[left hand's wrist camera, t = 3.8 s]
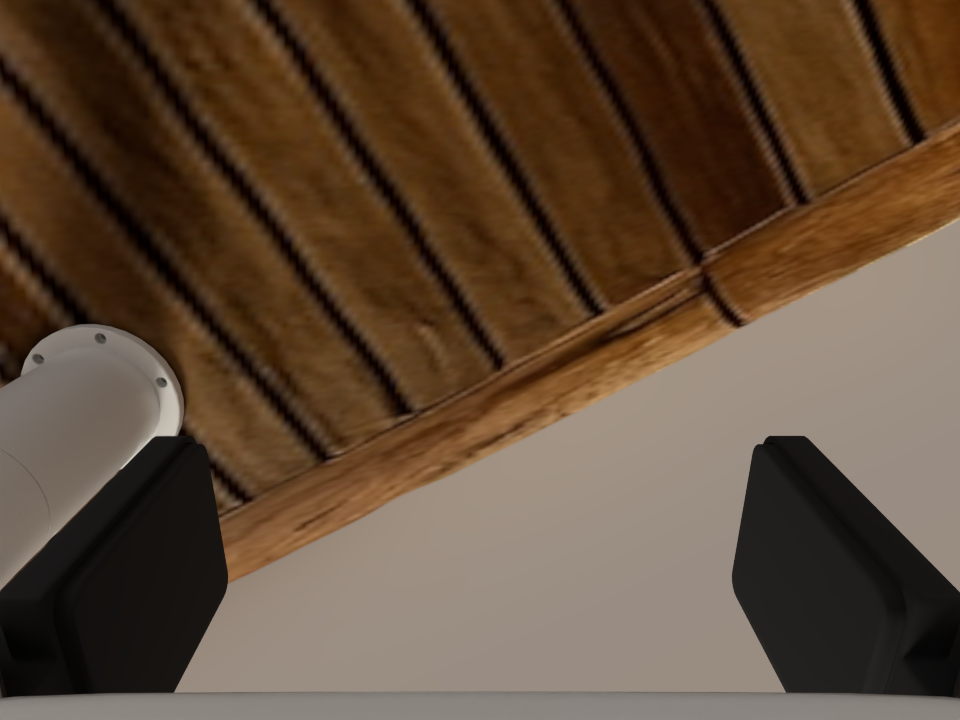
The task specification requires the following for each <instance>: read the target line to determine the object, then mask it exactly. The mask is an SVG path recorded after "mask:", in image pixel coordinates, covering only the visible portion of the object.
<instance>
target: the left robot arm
mask: <svg viewBox="0 0 960 720" xmlns="http://www.w3.org/2000/svg"><path fill="white" fill-rule="evenodd" d="M183 416H184V399H183V395H182V391H181V387H180V384H179V382H178V380H177V378H176V376H175V374H174V372H173V370H172V369H171V368H170V366H169V365H168V363H167V362H166V361H165V359H164V358H163V357H162V356H161V355H160V354H159V353H158V352H157V351H156V350H155V349H154V348H152V347H151V346H150V345H148V344H147V343H146V342H144V341H143V340H141V339H140V338H138V337H136V336H134V335H132V334H130V333H128V332H126V331H123V330H120V329H117V328H114V327H111V326H105V325H98V324H80V325H75V326H71V327H66V328H64V329H61V330H59V331H57V332H55V333H53V334H51V335H49V336H48V337H46V338H44V339H43V340H41V341H40V342H39V343H38V344H37V345H36V346H35V347H34V348H33V349H32V350H31V352H30V353H29V355H28V357H27V358H26V360H25V362H24V366H23V369H22V372H21V377H19V378H17V379H16V380H14V381H12V382H11V383H9V384H7V385H5V386H4V387H2V388H0V590H1V589H2V588H3V587H4V586H5V585H6V584H7V583H8V581H9V580H10V579H11V578H12V577H13V576H14V575H15V574H16V573H17V572H18V571H19V570H20V569H21V568H22V567H23V566H24V565H25V564H26V563H27V562H28V561H29V560H30V559H31V558H32V557H33V556H34V555H35V554H36V553H37V552H38V551H39V550H40V549H41V548H42V547H43V546H44V545H45V544H46V543H47V542H48V541H49V540H50V539H51V538H52V537H53V536H54V535H55V534H56V533H57V532H58V531H59V530H60V529H61V528H62V527H63V526H64V525H65V524H66V523H67V522H68V521H69V520H70V519H71V518H72V517H73V516H74V515H75V514H76V513H77V512H78V511H79V510H80V509H81V508H82V507H83V506H84V505H85V504H86V503H87V502H88V501H89V500H90V499H91V498H92V497H93V496H94V495H95V494H96V493H97V492H98V491H99V490H100V489H101V488H102V487H103V486H104V485H105V484H106V483H107V481H108V480H109V479H110V478H111V477H112V476H113V475H114V474H115V473H116V472H117V471H118V470H119V469H121V471H120V472H119V473H118V474H117V475H116V476H115V477H114V478H113V479H112V480H111V481H110V482H109V483H108V484H107V485H106V486H105V487H104V488H103V489H102V490H101V491H100V492H99V493H98V494H97V495H96V496H95V497H94V498H93V499H92V500H91V501H90V502H89V503H88V504H87V505H86V506H85V507H84V508H83V509H82V510H81V511H80V512H79V513H78V514H77V515H76V516H75V517H74V518H73V519H72V520H71V521H70V522H69V523H68V524H67V525H66V526H65V527H64V528H63V529H62V530H61V531H60V532H59V533H58V534H57V535H56V536H55V537H54V538H53V539H52V540H51V541H50V542H49V543H48V544H47V545H46V546H45V547H44V548H43V550H42V551H41V552H40V553H39V554H38V555H37V556H36V557H35V558H34V559H33V560H32V561H31V562H30V563H29V564H28V565H27V566H26V567H25V568H24V569H23V570H22V571H21V572H20V573H19V574H18V575H17V576H16V577H15V578H14V579H13V580H12V581H11V582H10V583H9V584H8V585H7V586H6V587H5V588H4V589H3V590H2V591H1V592H0V720H960V592H959V591H958V590H957V589H956V588H955V587H954V586H953V585H952V584H951V583H950V582H949V581H948V580H947V579H946V578H945V577H944V576H943V575H942V574H941V573H940V572H939V571H938V570H937V569H936V568H935V567H934V566H933V565H932V564H931V563H930V562H929V561H928V560H927V559H926V558H925V557H924V556H923V555H922V554H921V553H920V552H919V551H918V550H917V549H916V548H915V546H913V544H912V543H911V542H910V541H909V540H908V539H907V538H906V537H905V536H904V535H903V534H902V533H901V532H900V531H899V530H898V529H897V528H896V527H895V526H894V525H893V524H892V523H891V522H890V521H889V520H888V519H887V518H886V517H885V516H884V515H883V514H882V513H881V512H880V511H879V510H878V509H877V508H876V507H875V506H874V505H873V504H872V503H871V502H870V501H869V500H868V499H867V498H866V497H865V496H864V495H863V494H862V493H861V492H860V491H859V490H858V489H857V488H856V487H855V486H854V485H853V484H852V483H851V482H850V481H849V480H848V479H847V478H846V477H845V476H844V475H843V474H842V473H841V472H840V471H839V469H838V468H837V467H836V466H835V465H834V464H832V462H831V461H830V460H829V459H828V458H827V457H826V456H825V455H824V454H823V453H822V452H821V451H820V450H819V449H818V448H817V447H816V446H815V445H814V444H813V443H812V442H811V441H810V440H809V439H808V438H806V437H805V436H769V437H767V438H766V439H765V441H764V443H763V444H758V445H756V446H755V448H754V450H753V454H752V460H751V466H750V472H749V478H748V483H747V489H746V495H745V501H744V507H743V513H742V518H741V525H740V530H739V536H738V542H737V548H736V554H735V560H734V565H733V571H732V584H733V589H734V593H735V595H736V597H737V599H738V601H739V603H740V605H741V607H742V609H743V611H744V613H745V615H746V616H747V618H748V620H749V622H750V624H751V626H752V628H753V630H754V632H755V634H756V636H757V638H758V639H759V641H760V643H761V645H762V647H763V649H764V651H765V653H766V655H767V657H768V659H769V661H770V662H771V664H772V666H773V668H774V670H775V672H776V674H777V676H778V678H779V680H780V682H781V683H782V685H783V687H784V689H785V691H786V693H745V692H744V693H743V692H231V693H230V692H229V693H174V691H175V689H176V687H177V685H178V683H179V682H180V680H181V678H182V676H183V674H184V672H185V670H186V668H187V666H188V664H189V662H190V660H191V659H192V657H193V655H194V653H195V651H196V649H197V647H198V645H199V643H200V641H201V639H202V638H203V636H204V634H205V632H206V630H207V628H208V626H209V624H210V622H211V620H212V618H213V616H214V615H215V613H216V611H217V609H218V607H219V605H220V603H221V601H222V599H223V597H224V595H225V593H226V589H227V584H228V571H227V565H226V559H225V553H224V548H223V542H222V536H221V530H220V524H219V518H218V513H217V507H216V501H215V495H214V489H213V483H212V478H211V472H210V466H209V460H208V454H207V450H206V448H205V446H204V445H202V444H197V443H196V441H195V439H194V438H193V437H191V436H177V435H178V433H179V431H180V428H181V426H182V422H183Z"/></svg>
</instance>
